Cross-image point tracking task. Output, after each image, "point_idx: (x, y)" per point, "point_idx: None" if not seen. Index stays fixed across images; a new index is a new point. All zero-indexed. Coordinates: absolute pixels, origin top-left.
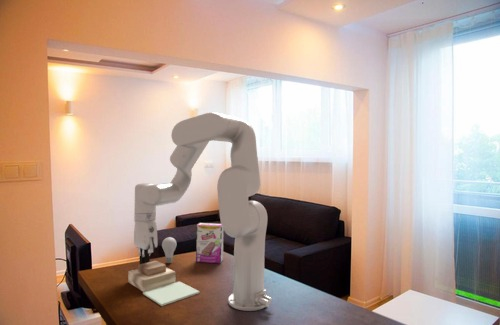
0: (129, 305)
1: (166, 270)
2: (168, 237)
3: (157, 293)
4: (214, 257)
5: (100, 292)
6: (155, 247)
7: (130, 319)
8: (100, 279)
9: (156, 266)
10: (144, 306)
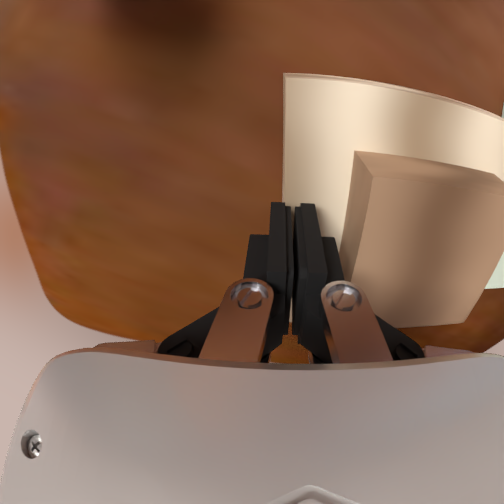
0: (456, 333)
1: (483, 152)
2: None
3: (500, 259)
4: None
5: (300, 358)
6: (489, 365)
7: (492, 344)
8: (162, 321)
9: (484, 265)
10: (494, 310)
